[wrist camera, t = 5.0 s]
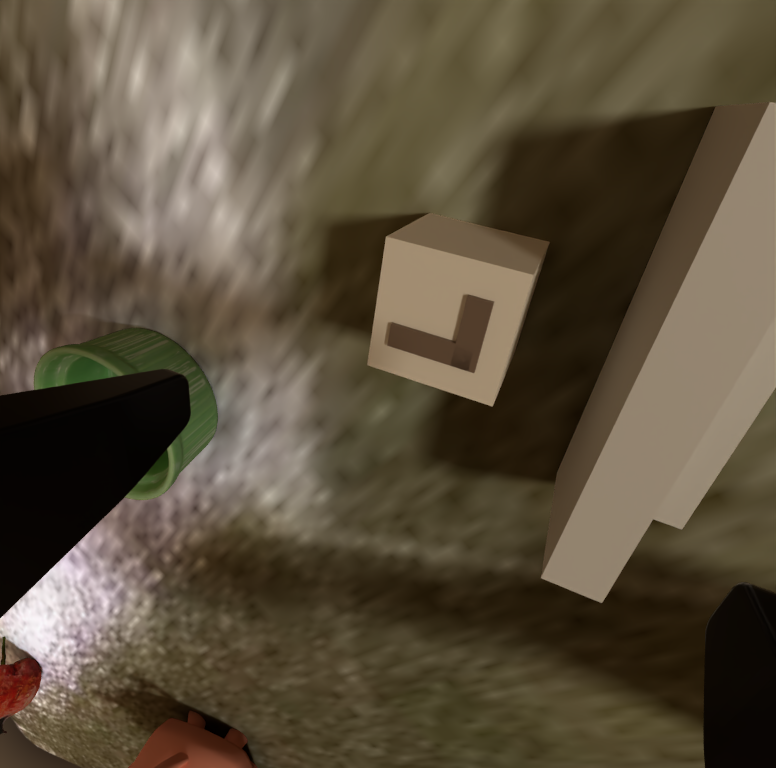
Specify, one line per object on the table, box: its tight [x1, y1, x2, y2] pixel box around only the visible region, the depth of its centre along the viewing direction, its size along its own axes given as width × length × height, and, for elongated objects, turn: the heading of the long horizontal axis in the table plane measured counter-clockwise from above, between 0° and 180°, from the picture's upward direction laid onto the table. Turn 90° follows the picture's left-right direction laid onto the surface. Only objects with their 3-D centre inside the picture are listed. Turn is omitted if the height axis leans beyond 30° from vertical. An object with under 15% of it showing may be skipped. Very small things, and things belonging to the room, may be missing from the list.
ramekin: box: [34, 328, 218, 500], centre depth 27 cm, size 9×9×4 cm
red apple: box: [0, 637, 41, 734], centre depth 57 cm, size 7×7×10 cm
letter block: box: [367, 213, 550, 407], centre depth 17 cm, size 4×4×5 cm
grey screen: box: [541, 102, 776, 603], centre depth 15 cm, size 14×5×6 cm, turn 170°
